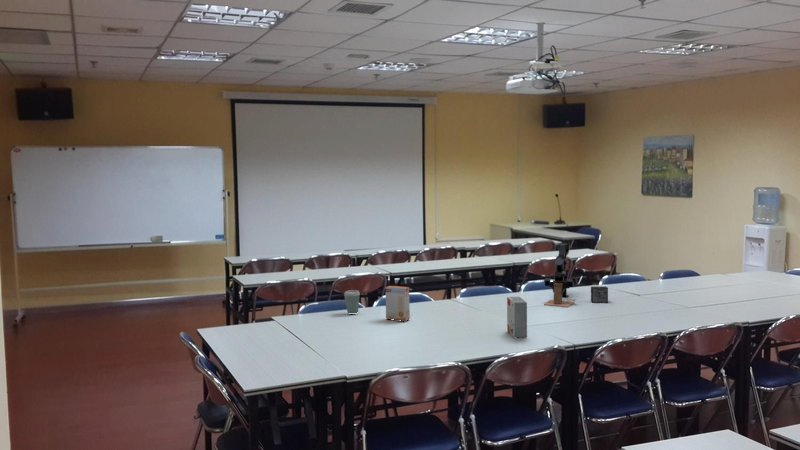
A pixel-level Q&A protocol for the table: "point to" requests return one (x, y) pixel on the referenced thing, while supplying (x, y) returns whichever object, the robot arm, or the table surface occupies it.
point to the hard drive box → (517, 316)
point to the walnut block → (558, 292)
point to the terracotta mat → (563, 304)
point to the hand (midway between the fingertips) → (557, 292)
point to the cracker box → (397, 303)
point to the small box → (599, 294)
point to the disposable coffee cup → (352, 300)
